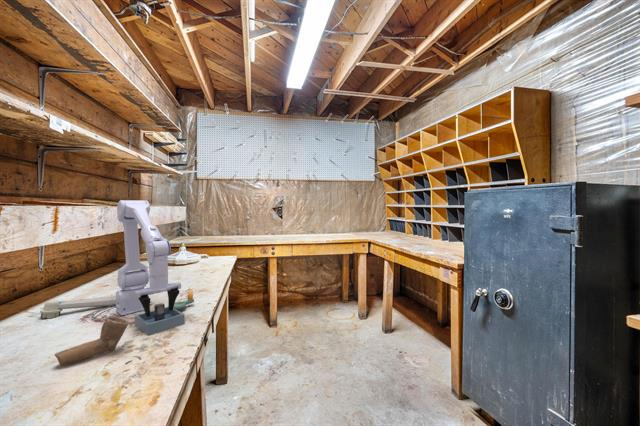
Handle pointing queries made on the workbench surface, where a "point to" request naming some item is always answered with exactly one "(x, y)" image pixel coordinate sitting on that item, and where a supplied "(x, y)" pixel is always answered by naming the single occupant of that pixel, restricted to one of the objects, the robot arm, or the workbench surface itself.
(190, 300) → the crank
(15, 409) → the workbench surface
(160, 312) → the pin
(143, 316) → the tray
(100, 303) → the grey long piece
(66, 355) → the pipe
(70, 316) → the workbench surface
